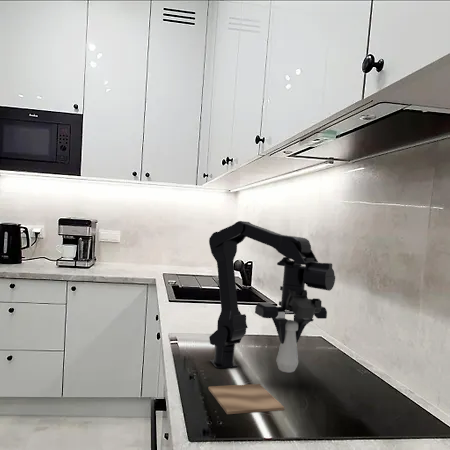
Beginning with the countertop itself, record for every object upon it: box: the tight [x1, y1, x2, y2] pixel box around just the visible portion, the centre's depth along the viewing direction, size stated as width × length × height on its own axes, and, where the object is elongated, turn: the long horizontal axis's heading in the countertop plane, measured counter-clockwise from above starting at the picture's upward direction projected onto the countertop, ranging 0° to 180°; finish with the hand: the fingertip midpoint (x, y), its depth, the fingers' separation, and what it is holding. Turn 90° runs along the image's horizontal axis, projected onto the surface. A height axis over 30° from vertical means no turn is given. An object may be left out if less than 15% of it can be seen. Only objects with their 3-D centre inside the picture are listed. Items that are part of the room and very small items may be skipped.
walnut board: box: [207, 383, 285, 415], centre depth 100 cm, size 14×14×1 cm
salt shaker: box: [275, 319, 299, 373], centre depth 111 cm, size 6×6×13 cm
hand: (288, 343), depth 111 cm, fingers closed on salt shaker, 3 cm apart
